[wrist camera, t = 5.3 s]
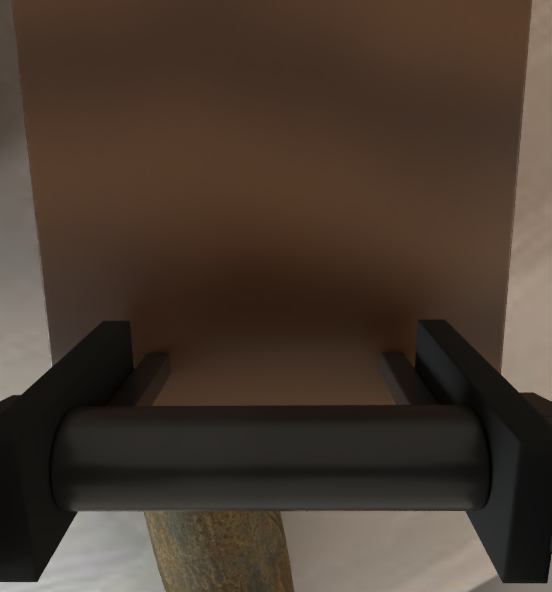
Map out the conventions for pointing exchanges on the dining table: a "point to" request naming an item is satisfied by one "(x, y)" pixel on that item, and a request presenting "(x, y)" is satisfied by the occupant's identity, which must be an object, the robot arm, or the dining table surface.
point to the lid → (273, 241)
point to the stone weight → (220, 551)
